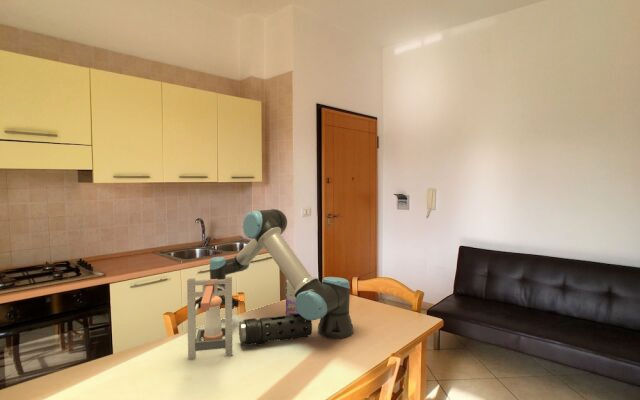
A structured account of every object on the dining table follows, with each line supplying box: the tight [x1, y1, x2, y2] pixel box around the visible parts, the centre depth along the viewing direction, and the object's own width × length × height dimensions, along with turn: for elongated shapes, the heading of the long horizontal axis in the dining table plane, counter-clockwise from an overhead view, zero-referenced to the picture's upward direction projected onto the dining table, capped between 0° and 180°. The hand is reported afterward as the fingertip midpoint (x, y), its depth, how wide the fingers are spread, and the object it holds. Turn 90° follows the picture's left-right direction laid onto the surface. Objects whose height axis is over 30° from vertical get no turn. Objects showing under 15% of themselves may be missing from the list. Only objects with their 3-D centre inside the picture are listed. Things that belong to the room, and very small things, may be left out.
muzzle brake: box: [238, 314, 313, 346], centre depth 146 cm, size 10×28×10 cm, turn 110°
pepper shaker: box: [203, 296, 223, 341], centre depth 145 cm, size 7×7×19 cm
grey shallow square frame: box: [196, 327, 225, 351], centre depth 145 cm, size 12×12×3 cm
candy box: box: [285, 279, 299, 315], centre depth 177 cm, size 14×6×16 cm, turn 77°
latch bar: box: [200, 278, 218, 312], centre depth 124 cm, size 22×5×5 cm, turn 12°
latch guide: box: [186, 276, 233, 361], centre depth 133 cm, size 2×15×29 cm, turn 102°
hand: (212, 311), depth 150 cm, fingers open, 13 cm apart
